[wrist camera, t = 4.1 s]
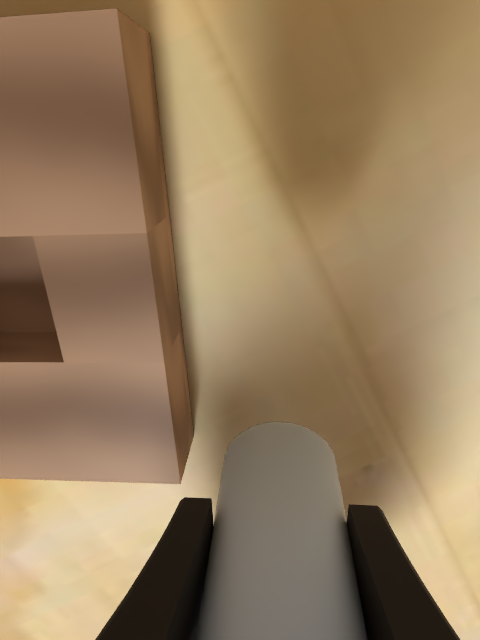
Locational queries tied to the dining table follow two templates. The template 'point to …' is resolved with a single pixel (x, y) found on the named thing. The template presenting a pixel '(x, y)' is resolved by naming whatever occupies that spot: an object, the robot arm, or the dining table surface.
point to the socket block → (86, 258)
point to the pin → (280, 543)
